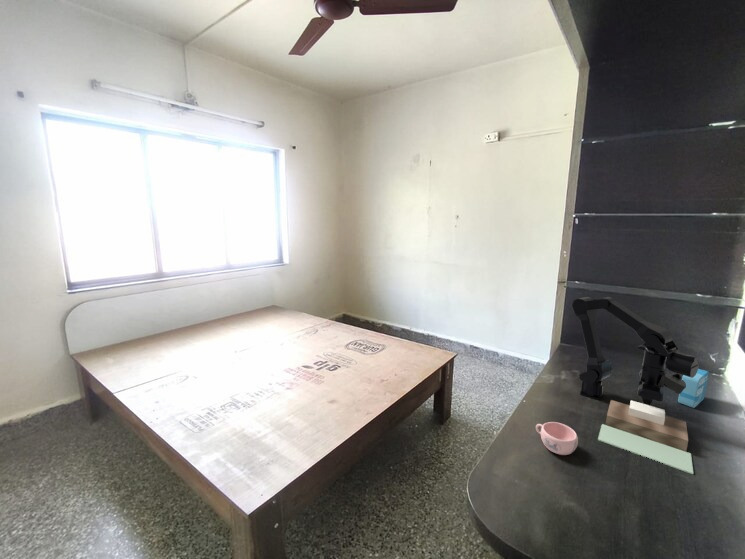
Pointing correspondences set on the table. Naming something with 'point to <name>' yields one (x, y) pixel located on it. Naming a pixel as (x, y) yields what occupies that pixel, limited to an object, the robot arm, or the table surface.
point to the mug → (558, 437)
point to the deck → (648, 426)
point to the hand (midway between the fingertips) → (646, 406)
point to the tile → (647, 412)
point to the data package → (694, 389)
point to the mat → (647, 448)
